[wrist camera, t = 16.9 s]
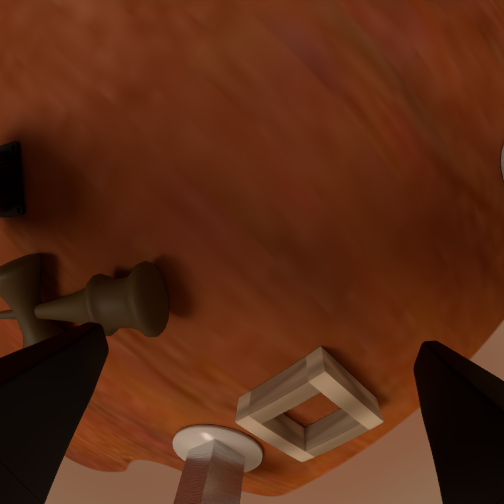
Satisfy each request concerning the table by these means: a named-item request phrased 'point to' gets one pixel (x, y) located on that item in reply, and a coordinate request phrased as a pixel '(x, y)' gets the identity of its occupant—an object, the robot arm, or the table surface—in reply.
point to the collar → (299, 390)
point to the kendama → (84, 301)
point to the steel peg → (211, 475)
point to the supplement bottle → (502, 162)
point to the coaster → (225, 435)
